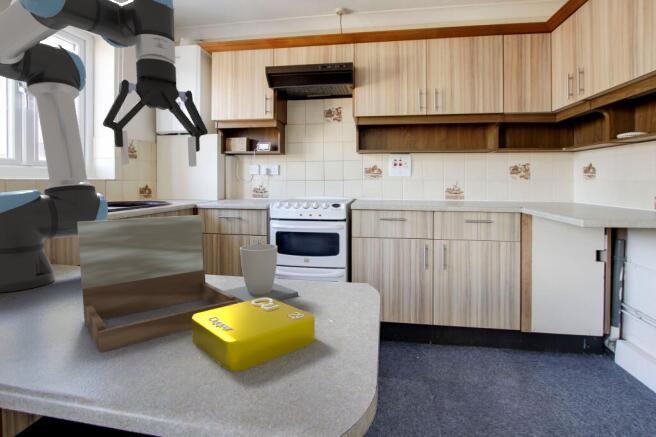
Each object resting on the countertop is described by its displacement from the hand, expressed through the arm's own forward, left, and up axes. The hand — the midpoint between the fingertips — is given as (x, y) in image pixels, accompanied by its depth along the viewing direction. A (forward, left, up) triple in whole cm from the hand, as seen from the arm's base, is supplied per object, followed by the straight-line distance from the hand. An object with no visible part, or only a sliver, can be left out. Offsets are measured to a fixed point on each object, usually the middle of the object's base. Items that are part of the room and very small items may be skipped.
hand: (160, 165), depth 77 cm
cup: (+13, +16, -28) cm, 35 cm away
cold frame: (+14, -5, -29) cm, 32 cm away
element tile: (+33, +3, -29) cm, 44 cm away
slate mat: (+13, +16, -29) cm, 35 cm away
